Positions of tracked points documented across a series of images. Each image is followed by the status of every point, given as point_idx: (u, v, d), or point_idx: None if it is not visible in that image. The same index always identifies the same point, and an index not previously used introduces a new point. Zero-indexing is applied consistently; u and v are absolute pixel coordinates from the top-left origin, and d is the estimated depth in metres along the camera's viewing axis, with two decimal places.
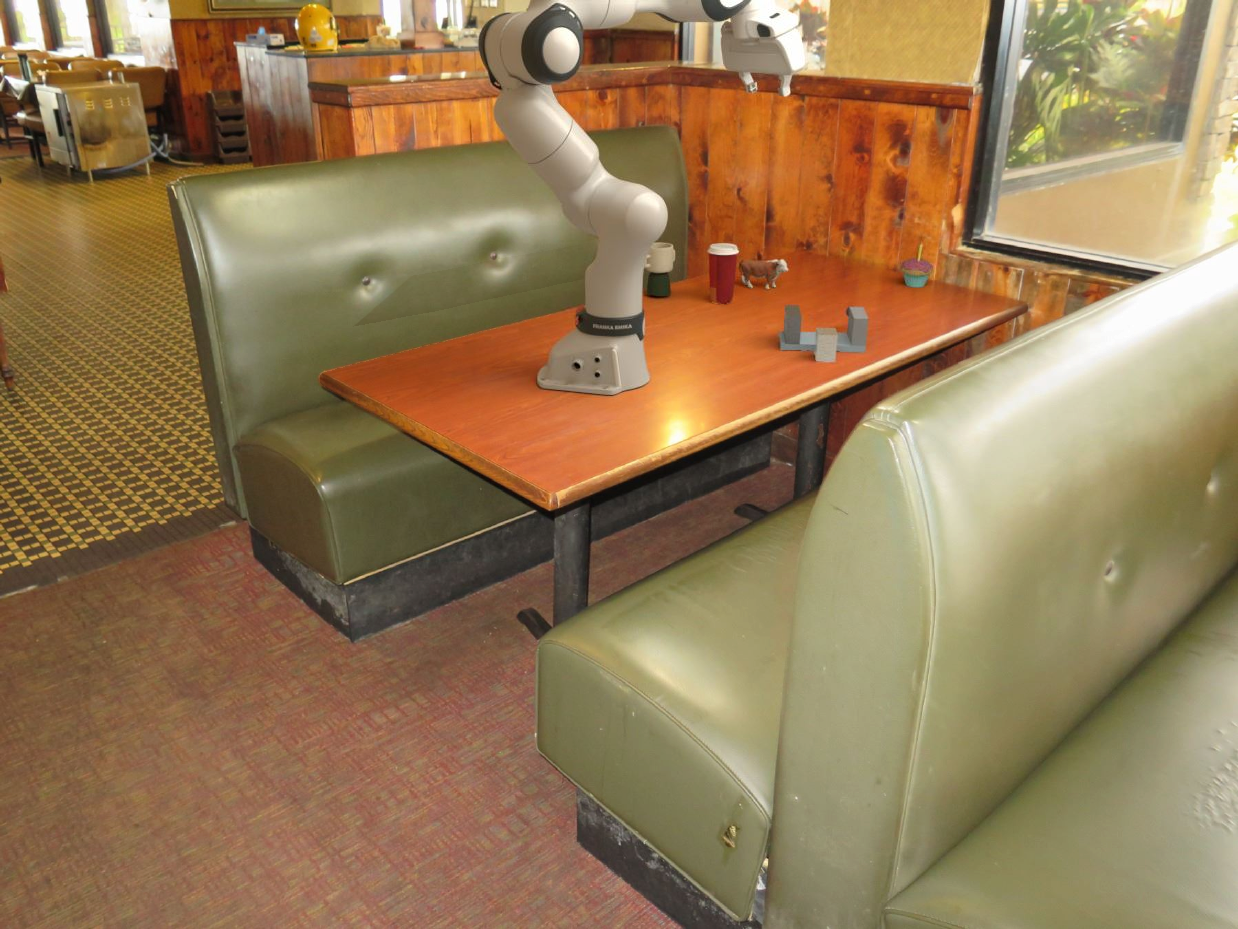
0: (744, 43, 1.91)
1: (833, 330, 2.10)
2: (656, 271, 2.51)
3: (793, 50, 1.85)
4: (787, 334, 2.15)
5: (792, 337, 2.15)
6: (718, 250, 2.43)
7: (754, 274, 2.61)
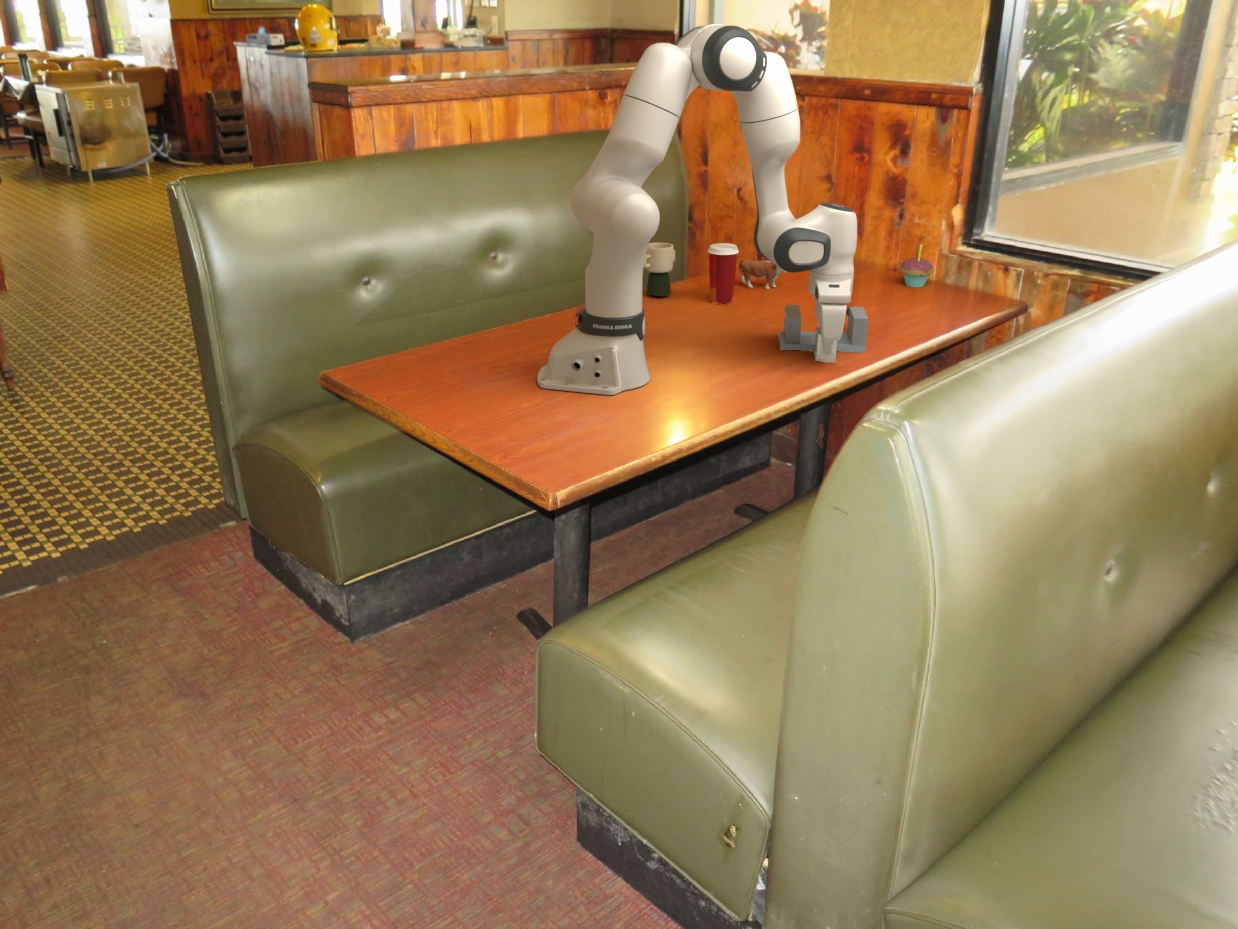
0: (814, 297, 2.07)
1: None
2: (656, 271, 2.51)
3: (830, 320, 1.98)
4: (787, 334, 2.15)
5: (792, 337, 2.15)
6: (718, 250, 2.43)
7: (754, 274, 2.61)
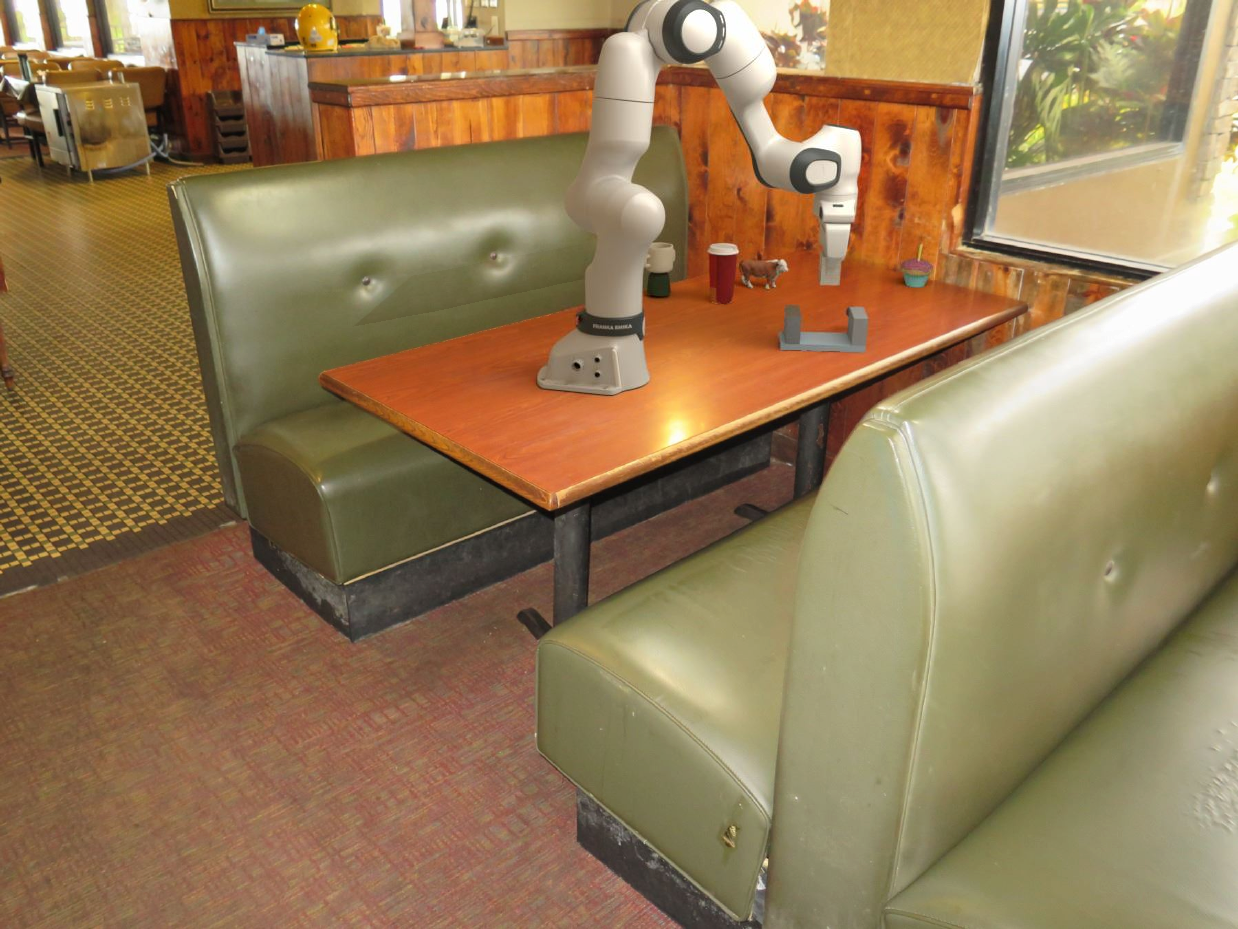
0: (818, 219, 2.09)
1: None
2: (656, 271, 2.51)
3: (835, 239, 2.00)
4: (787, 334, 2.15)
5: (792, 337, 2.15)
6: (718, 250, 2.43)
7: (754, 274, 2.61)
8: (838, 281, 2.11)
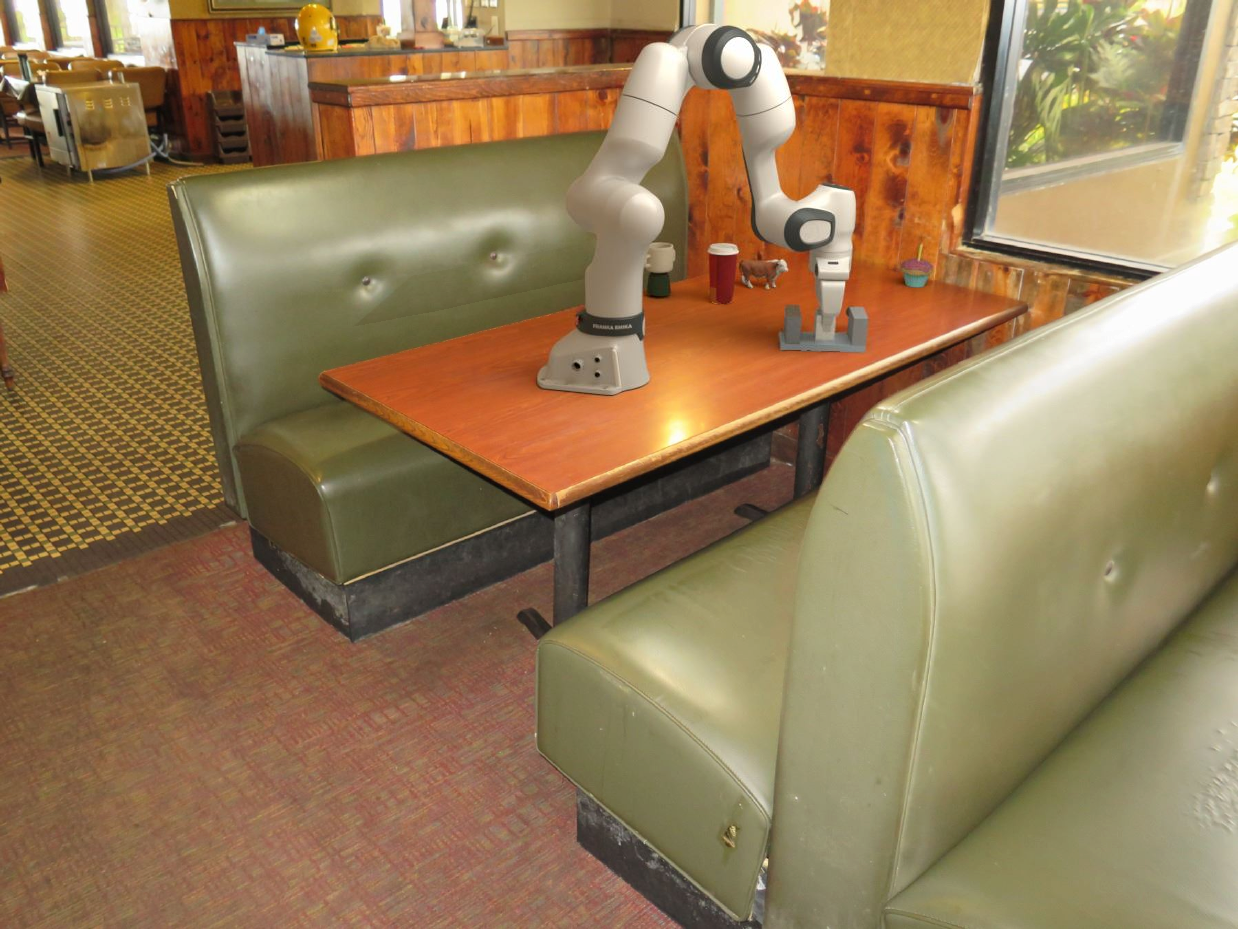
0: None
1: None
2: (656, 271, 2.51)
3: (830, 296, 2.05)
4: (787, 334, 2.15)
5: (792, 337, 2.15)
6: (718, 250, 2.43)
7: (754, 274, 2.61)
8: (832, 338, 2.16)
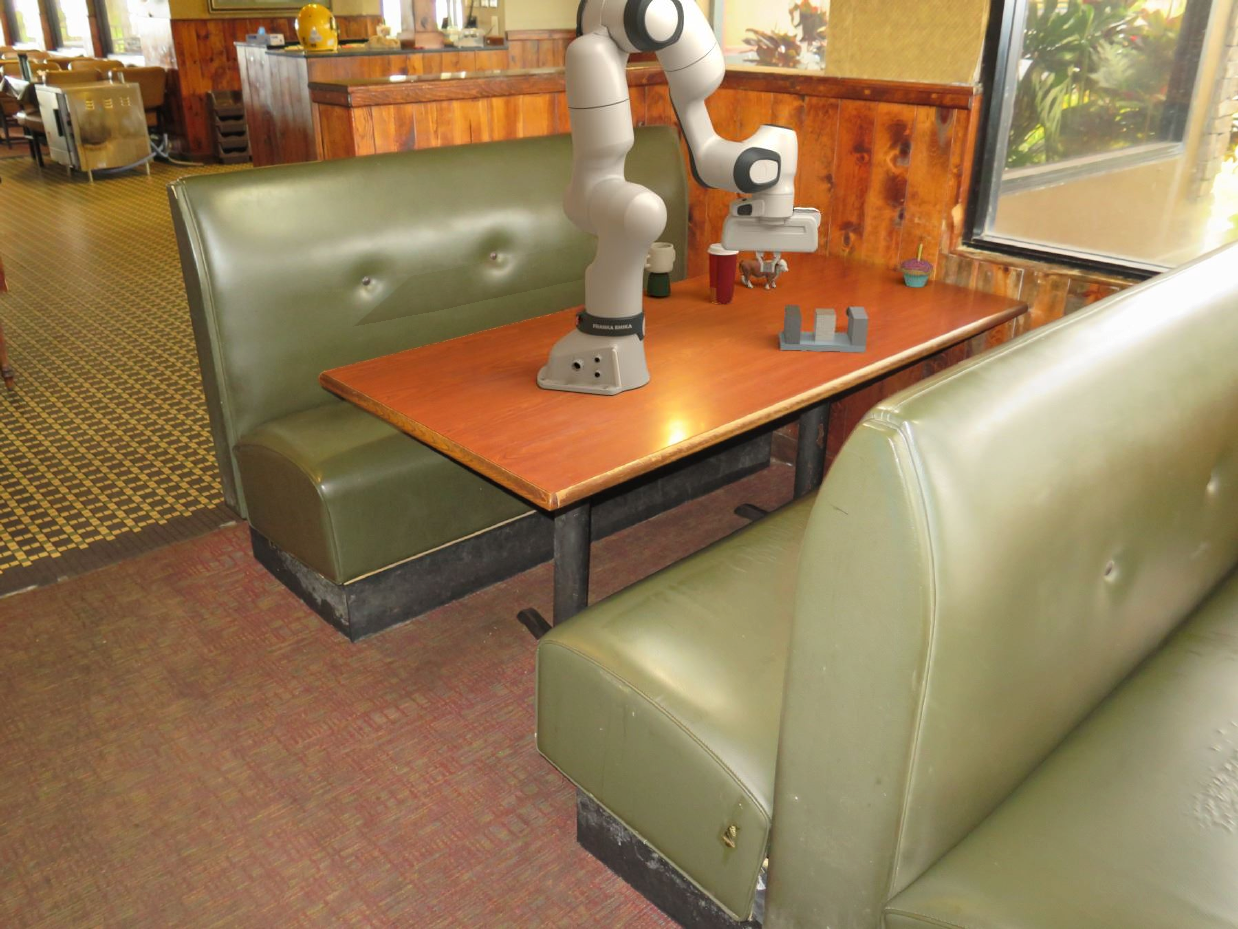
0: None
1: (832, 311, 2.17)
2: (656, 271, 2.51)
3: (723, 227, 2.11)
4: (787, 334, 2.15)
5: (792, 337, 2.15)
6: (718, 250, 2.43)
7: (754, 274, 2.61)
8: (832, 338, 2.16)
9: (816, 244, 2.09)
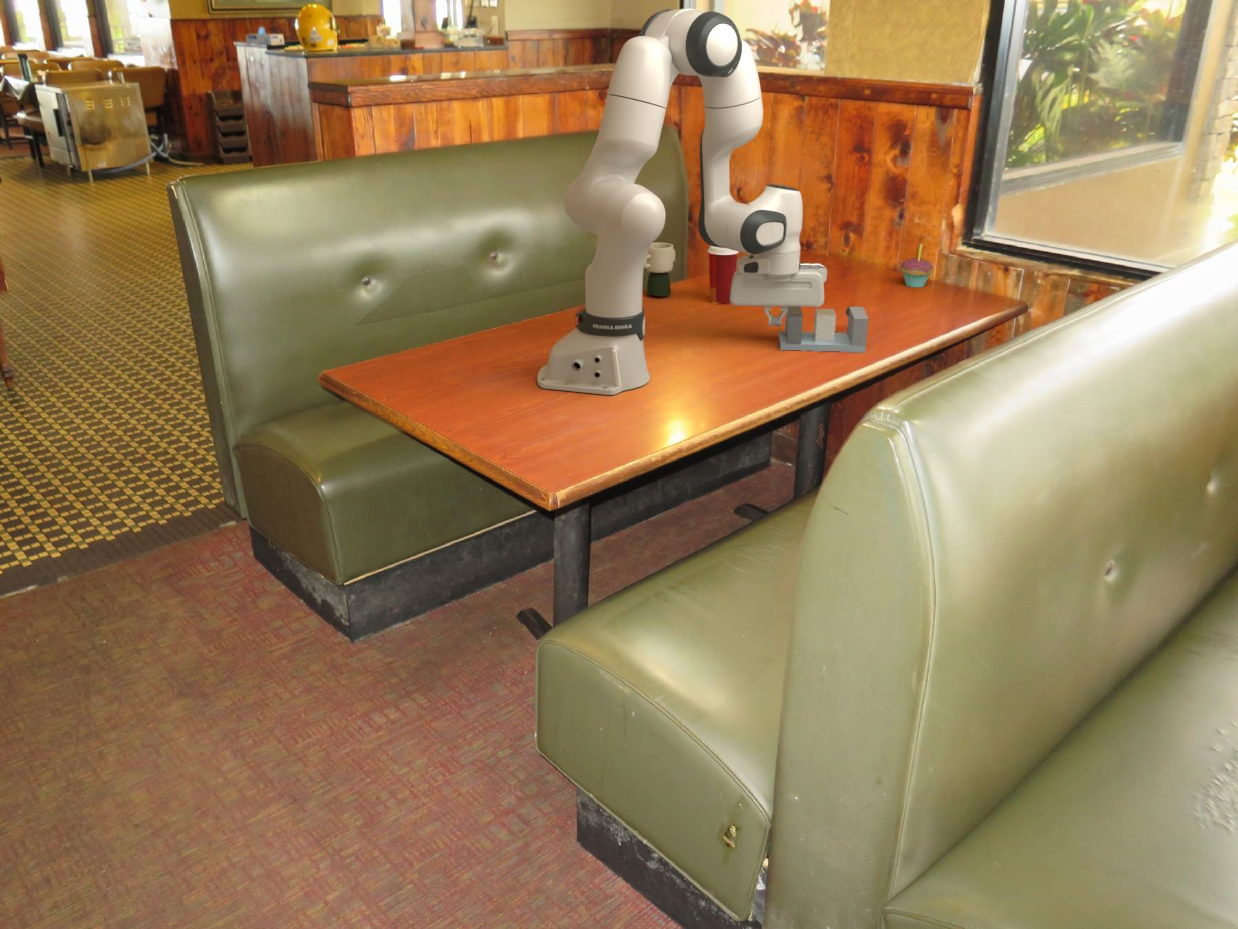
0: None
1: (832, 311, 2.17)
2: (656, 271, 2.51)
3: (731, 283, 2.16)
4: (788, 334, 2.15)
5: (793, 337, 2.15)
6: (718, 250, 2.43)
7: None
8: (832, 338, 2.16)
9: (822, 299, 2.14)
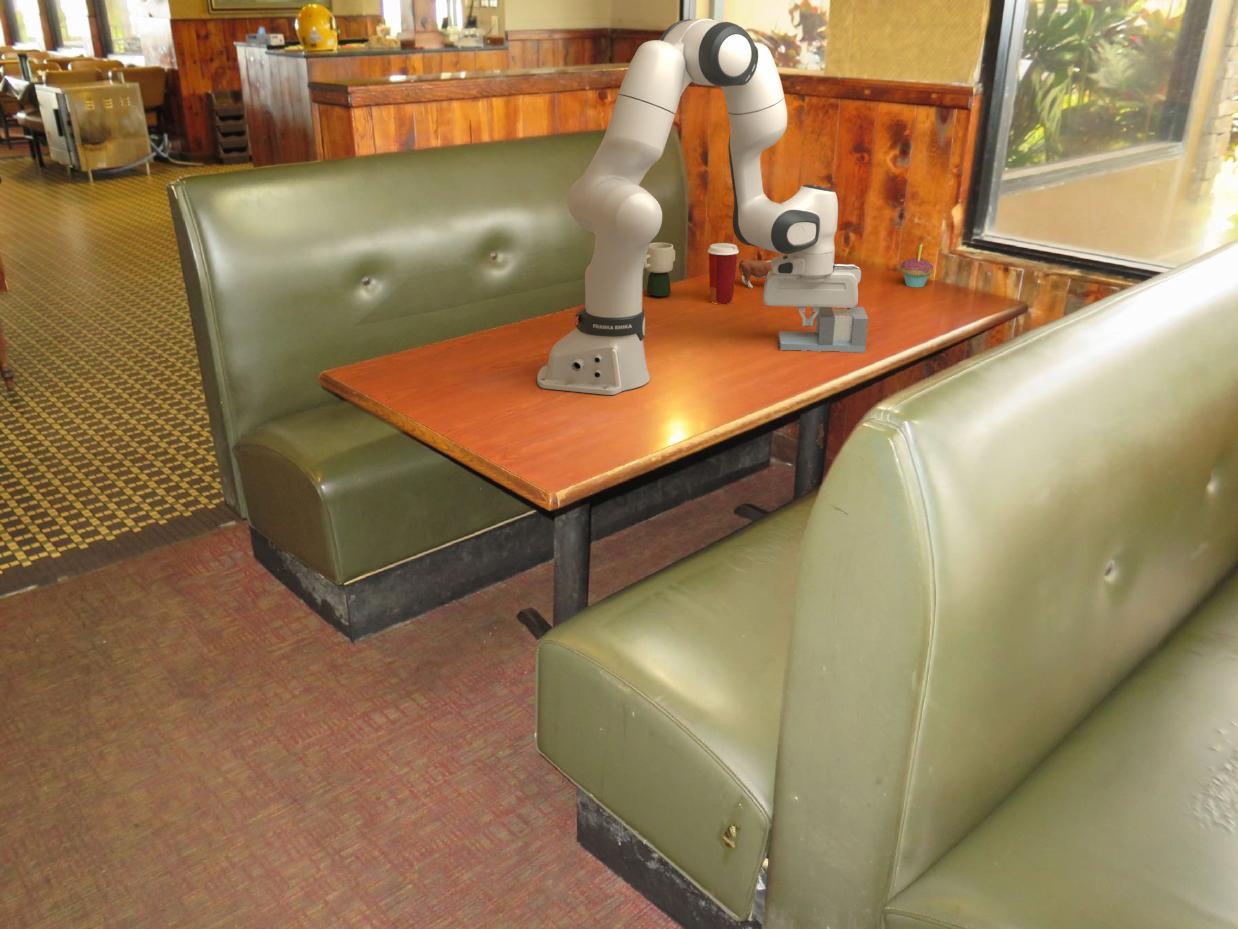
0: None
1: (849, 311, 2.17)
2: (656, 271, 2.51)
3: (764, 284, 2.16)
4: (820, 335, 2.14)
5: (825, 338, 2.14)
6: (718, 250, 2.43)
7: (754, 274, 2.61)
8: (849, 339, 2.16)
9: (856, 300, 2.13)
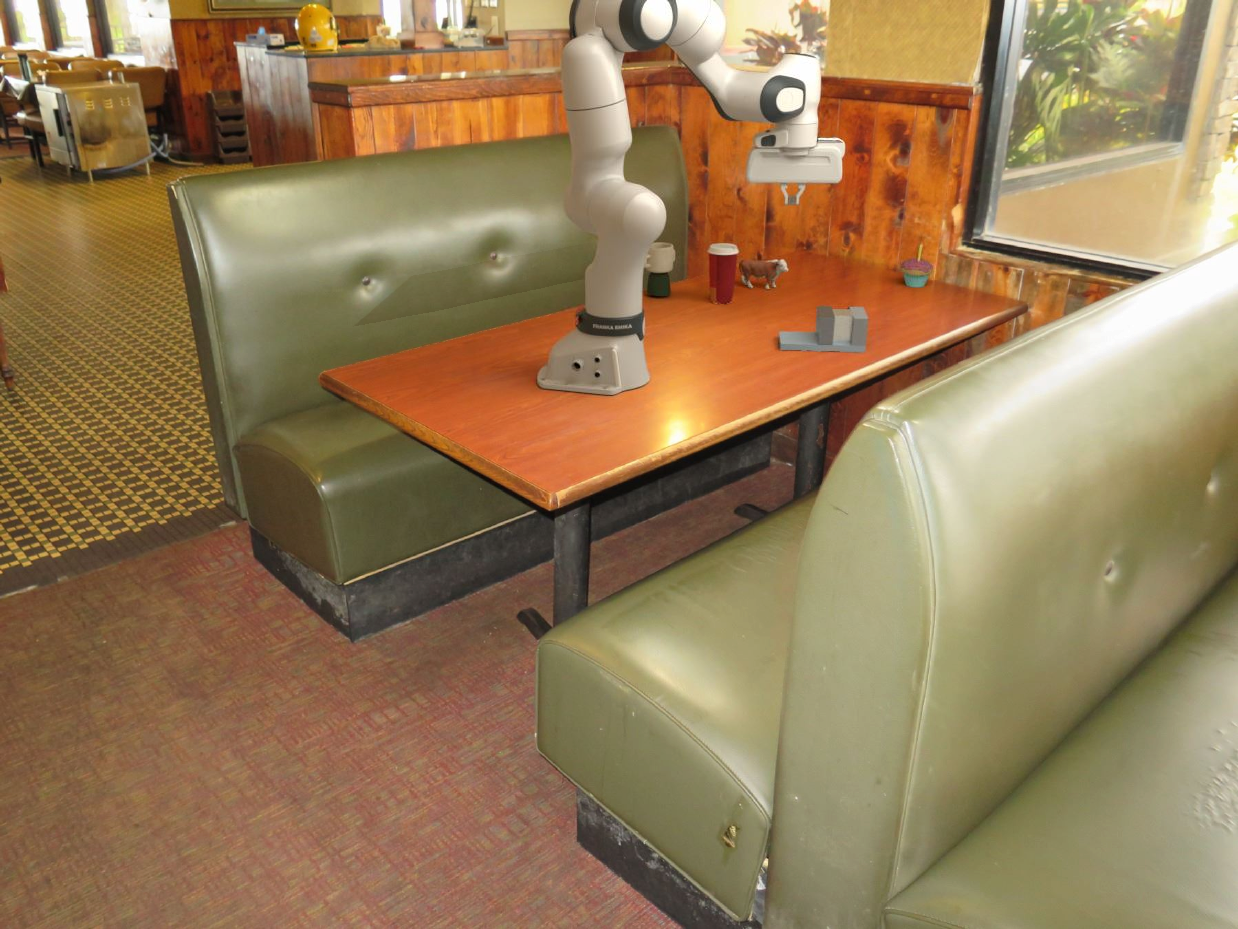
0: None
1: (849, 311, 2.17)
2: (656, 271, 2.51)
3: (747, 160, 2.11)
4: (820, 335, 2.14)
5: (825, 338, 2.14)
6: (718, 250, 2.43)
7: (754, 274, 2.61)
8: (849, 339, 2.16)
9: (840, 175, 2.09)
